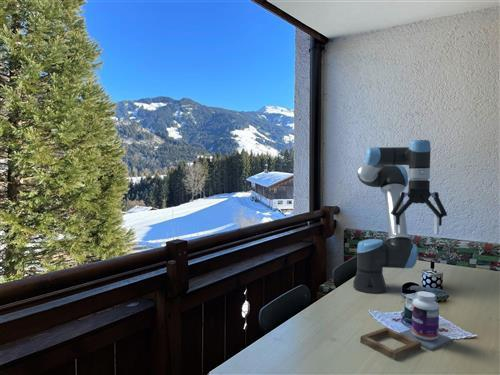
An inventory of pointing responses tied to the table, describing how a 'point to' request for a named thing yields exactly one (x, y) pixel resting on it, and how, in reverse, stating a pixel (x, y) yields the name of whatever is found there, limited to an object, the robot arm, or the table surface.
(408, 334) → the slate coaster
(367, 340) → the walnut frame
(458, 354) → the table surface
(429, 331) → the pill bottle
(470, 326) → the table surface
